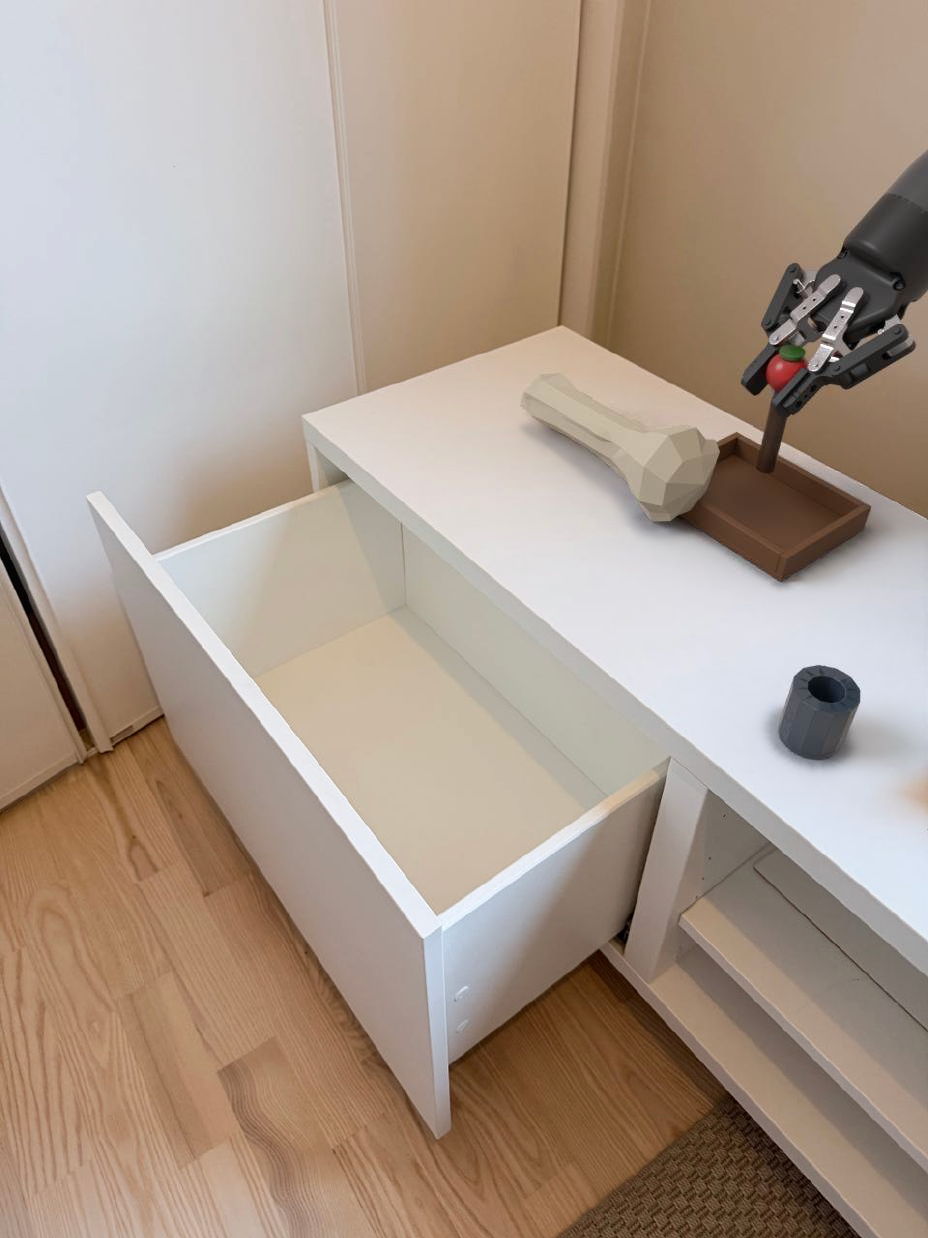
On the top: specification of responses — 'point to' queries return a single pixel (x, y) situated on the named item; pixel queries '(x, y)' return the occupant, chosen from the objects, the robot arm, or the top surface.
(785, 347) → the red ball joystick
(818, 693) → the holder
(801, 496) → the tray
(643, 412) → the top surface
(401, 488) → the top surface
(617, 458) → the faceted club
